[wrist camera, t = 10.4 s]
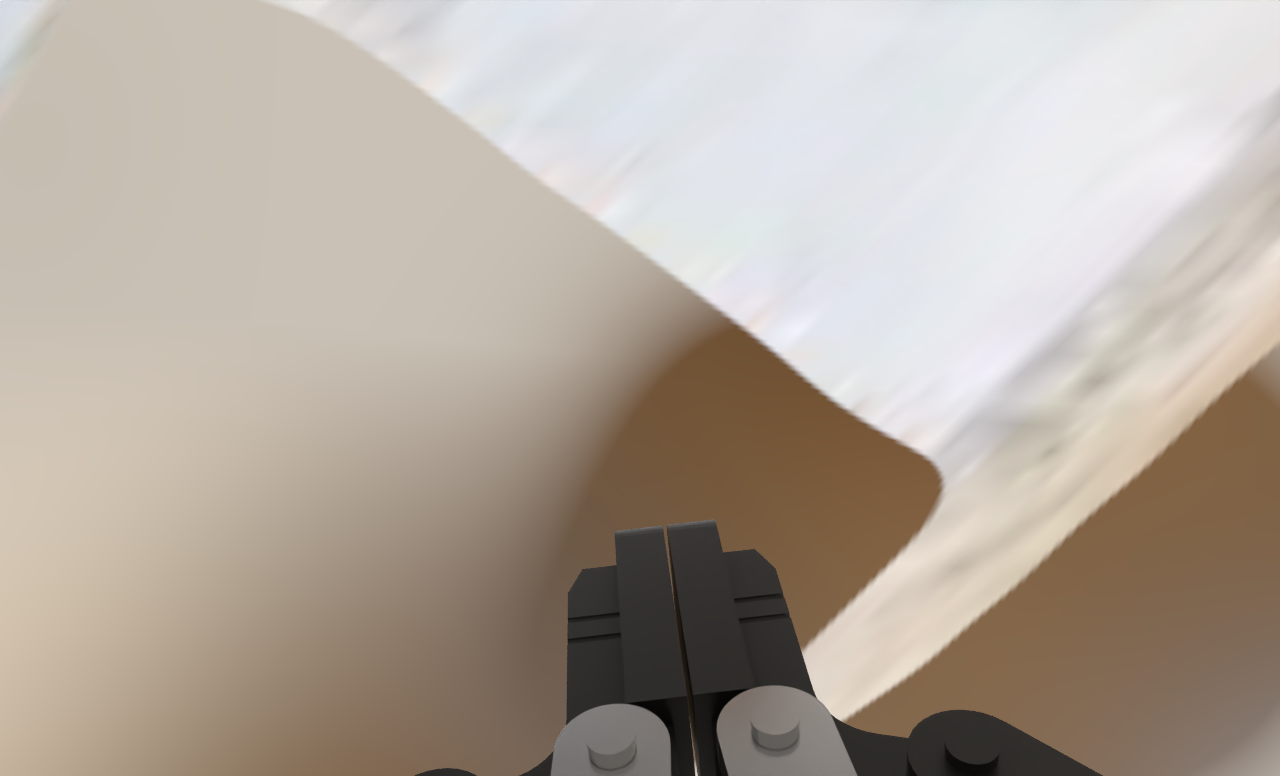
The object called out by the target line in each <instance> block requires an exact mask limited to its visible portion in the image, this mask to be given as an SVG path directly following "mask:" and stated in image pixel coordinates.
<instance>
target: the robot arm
mask: <svg viewBox="0 0 1280 776" xmlns="http://www.w3.org/2000/svg"><path fill="white" fill-rule="evenodd" d="M667 536H668V546H669V556H670V565H671V575H672V585H673V595H674V601H673V595H672V587H671V580H670V573H669V567H668V559H667V553H666V546H665V539H664V532H663V526H656V527H647V528H639V529H631V530H621V531H615V546H616V562H617V565H615V566H607V567H598V568H590V569H582V571H581V573H580V574H579V576H578V578H577V579H576V581H575V583H574V584H573V586H572V587H571V589H570V591H569V592H568V646H567V649H568V650H567V651H568V652H567V655H568V656H567V720H566V726H565V727H564V729H563V730H562V732H561V733H560V734H559V736H558V738H557V741H556V744H555V748H554V751H553V752H552V753H551V754H550V755H549V756H548V757H547V758H546V759H545V760H544V761H543V762H542V763H540V764H539V765H538V766H536V767H535V768H533V769H532V770H530V771H529V772H526V773H524V774H522V775H520V776H695V768H694V758H693V749H692V738H691V730H692V737H693V745H694V751H695V759H696V766H697V773H698V776H1102V775H1101V774H1099V773H1097V772H1095V771H1093V770H1092V769H1089V768H1088V767H1086V766H1084V765H1082V764H1081V763H1079V762H1077V761H1075V760H1073V759H1072V758H1069V757H1068V756H1066V755H1064V754H1062V753H1061V752H1059V751H1057V750H1055V749H1053V748H1052V747H1050V746H1048V745H1046V744H1044V743H1042V742H1040V741H1039V740H1037V739H1035V738H1033V737H1031V736H1030V735H1028V734H1026V733H1024V732H1023V731H1021V730H1019V729H1017V728H1015V727H1013V726H1011V725H1010V724H1008V723H1006V722H1004V721H1002V720H1000V719H998V718H996V717H993V716H990V715H987V714H984V713H980V712H976V711H969V710H950V711H944V712H940V713H936V714H933V715H931V716H929V717H927V718H925V719H924V720H922V721H921V722H920V723H918V725H917V726H916V727H915V728H914V729H913V730H912V732H911V734H910V736H909V738H903V737H895V736H889V735H881V734H875V733H870V732H866V731H862V730H859V729H856V728H853V727H851V726H849V725H847V724H845V723H843V722H841V721H840V720H838V719H836V718H835V717H834V716H832V715H831V714H830V713H829V711H828V709H827V708H826V707H825V706H824V705H823V704H822V703H821V702H820V701H819V700H818V699H817V698H816V695H815V693H814V691H813V688H812V684H811V681H810V678H809V675H808V672H807V668H806V665H805V662H804V659H803V656H802V652H801V649H800V646H799V643H798V639H797V636H796V633H795V630H794V627H793V623H792V620H791V618H790V616H789V611H788V608H787V604H786V601H785V598H784V597H783V591H782V588H781V585H780V582H779V579H778V575H777V572H776V569H775V568H774V567H773V566H772V565H771V564H770V563H769V562H768V561H767V560H766V559H764V557H763V556H761V555H760V554H759V553H758V552H757V551H756V550H755V549H751V550H743V551H734V552H725V553H723V551H722V547H721V543H720V538H719V534H718V530H717V526H716V522H715V520H706V521H697V522H689V523H680V524H671V525H667ZM674 605H675V608H674ZM675 614H676V615H675ZM689 717H690V718H689ZM690 724H691V728H690ZM415 776H476V775H474V774H472V773H470V772H468V771H464V770H460V769H451V768H444V769H435V770H430V771H426V772H423V773H420V774H417V775H415Z"/></svg>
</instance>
